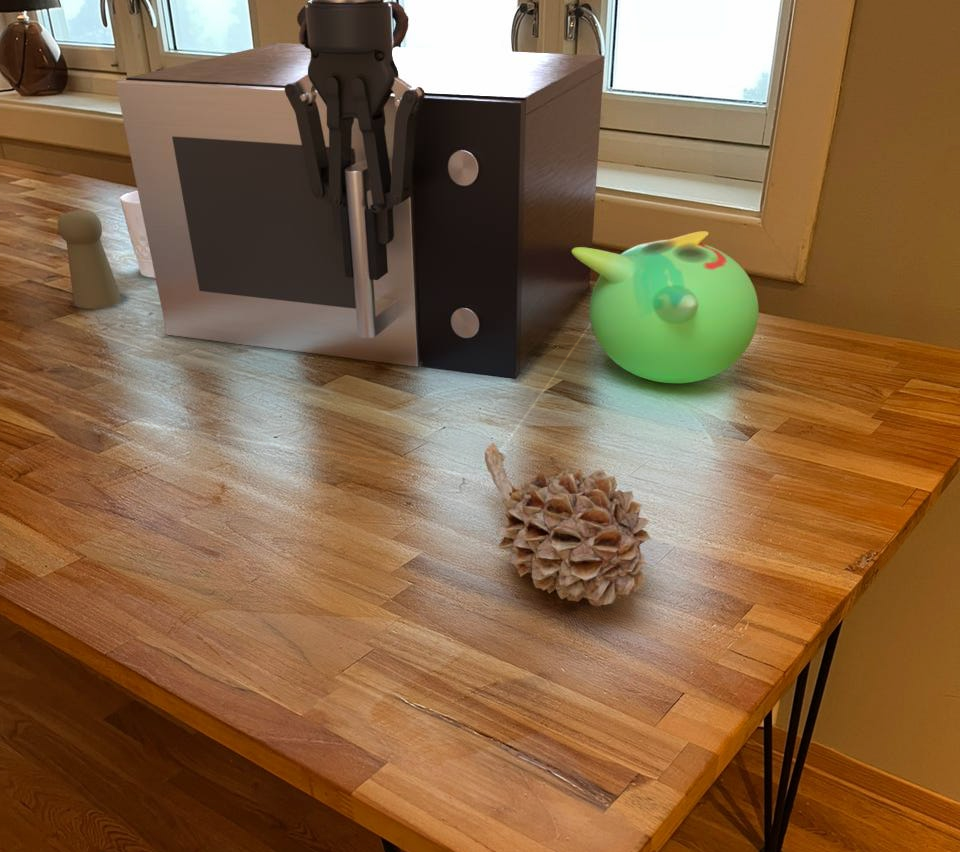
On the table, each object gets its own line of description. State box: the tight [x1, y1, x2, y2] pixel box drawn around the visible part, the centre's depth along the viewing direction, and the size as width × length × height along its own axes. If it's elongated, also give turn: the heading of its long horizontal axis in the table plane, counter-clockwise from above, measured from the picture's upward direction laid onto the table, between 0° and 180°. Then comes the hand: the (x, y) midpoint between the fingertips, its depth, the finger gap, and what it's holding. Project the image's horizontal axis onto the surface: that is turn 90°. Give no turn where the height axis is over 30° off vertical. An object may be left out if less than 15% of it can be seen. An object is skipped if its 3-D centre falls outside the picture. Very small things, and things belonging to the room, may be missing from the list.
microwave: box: [125, 42, 605, 379], centre depth 115 cm, size 35×44×27 cm
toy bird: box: [572, 230, 760, 384], centre depth 102 cm, size 18×17×15 cm
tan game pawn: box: [57, 210, 122, 309], centre depth 123 cm, size 6×6×11 cm
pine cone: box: [484, 441, 652, 607], centre depth 73 cm, size 22×10×10 cm, turn 30°
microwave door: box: [115, 79, 422, 368], centre depth 102 cm, size 9×33×27 cm, turn 71°
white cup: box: [119, 190, 156, 279], centre depth 134 cm, size 8×8×10 cm
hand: (366, 274), depth 98 cm, fingers closed on microwave door, 2 cm apart
